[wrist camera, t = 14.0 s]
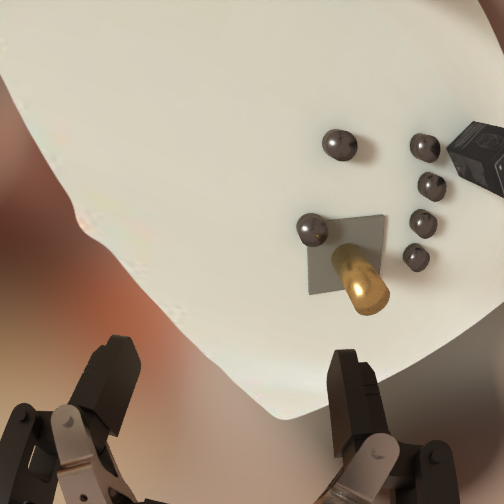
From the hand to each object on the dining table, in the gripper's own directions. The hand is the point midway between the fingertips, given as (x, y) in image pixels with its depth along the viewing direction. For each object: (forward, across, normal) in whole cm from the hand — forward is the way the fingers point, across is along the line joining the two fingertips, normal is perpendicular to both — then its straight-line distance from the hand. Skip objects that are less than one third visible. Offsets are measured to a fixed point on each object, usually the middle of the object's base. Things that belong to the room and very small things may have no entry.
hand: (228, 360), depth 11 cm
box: (+31, -31, -6) cm, 44 cm away
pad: (+28, -12, +12) cm, 32 cm away
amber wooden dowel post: (+27, -12, +12) cm, 32 cm away
